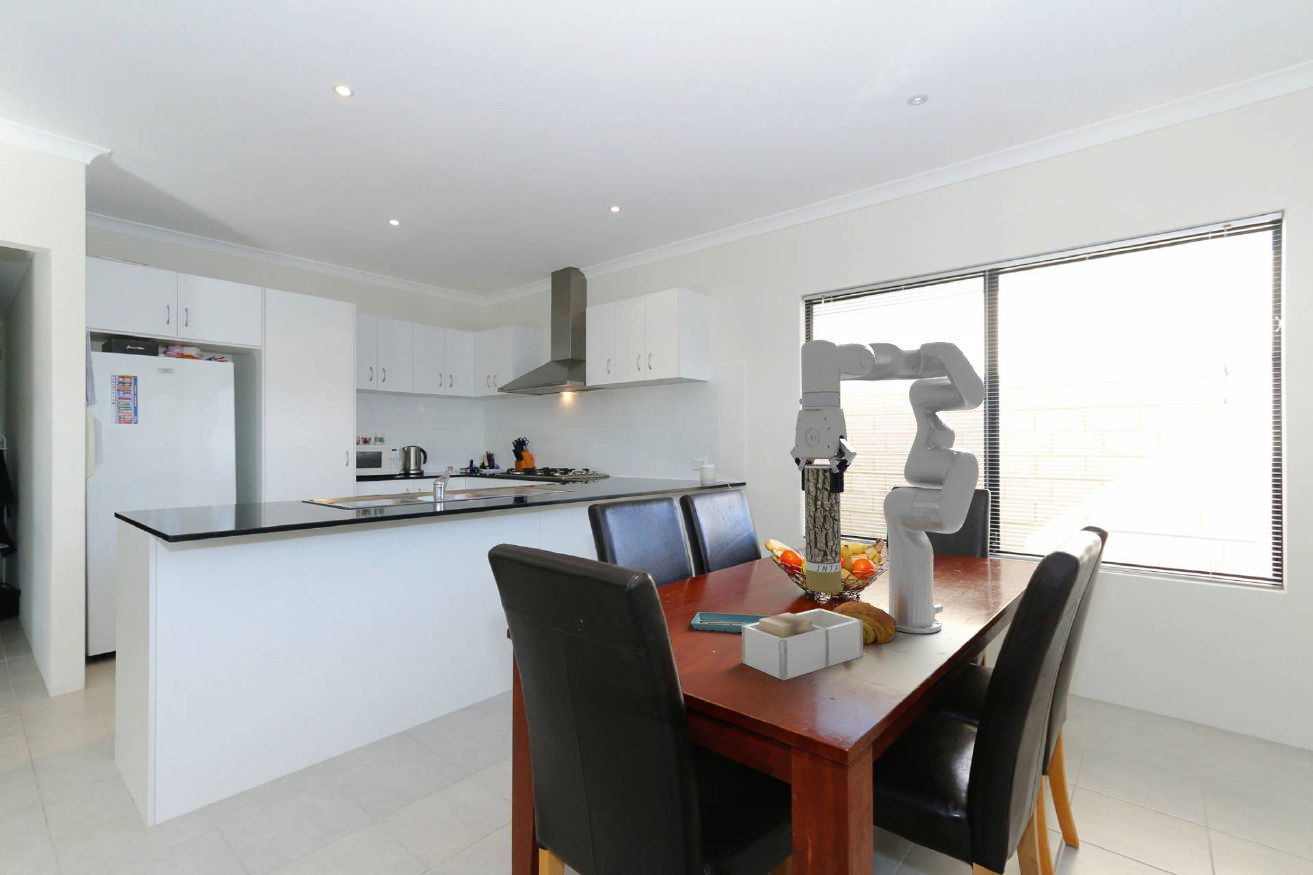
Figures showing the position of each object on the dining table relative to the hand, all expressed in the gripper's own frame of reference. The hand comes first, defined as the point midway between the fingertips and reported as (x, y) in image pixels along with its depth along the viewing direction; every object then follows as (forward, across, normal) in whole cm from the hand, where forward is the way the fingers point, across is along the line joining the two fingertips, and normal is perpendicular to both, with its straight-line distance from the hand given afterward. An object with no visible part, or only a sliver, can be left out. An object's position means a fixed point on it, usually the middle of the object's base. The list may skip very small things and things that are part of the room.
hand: (822, 490), depth 126 cm
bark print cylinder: (+20, 0, 0) cm, 20 cm away
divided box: (+32, 0, -7) cm, 33 cm away
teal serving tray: (+33, -21, -1) cm, 39 cm away
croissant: (+33, -3, +16) cm, 37 cm away
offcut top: (+27, 0, -11) cm, 29 cm away
